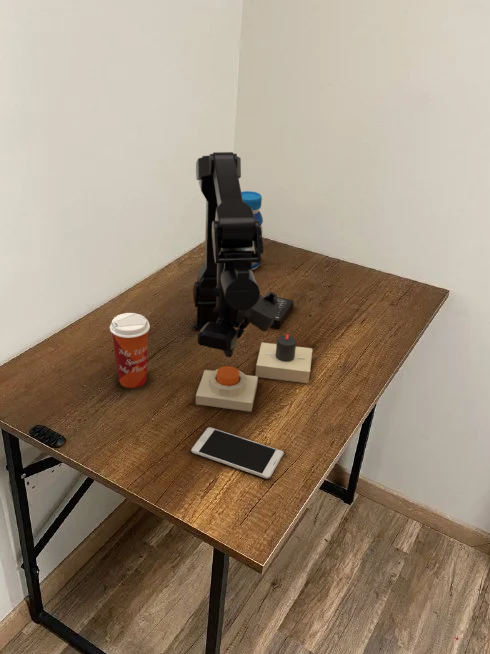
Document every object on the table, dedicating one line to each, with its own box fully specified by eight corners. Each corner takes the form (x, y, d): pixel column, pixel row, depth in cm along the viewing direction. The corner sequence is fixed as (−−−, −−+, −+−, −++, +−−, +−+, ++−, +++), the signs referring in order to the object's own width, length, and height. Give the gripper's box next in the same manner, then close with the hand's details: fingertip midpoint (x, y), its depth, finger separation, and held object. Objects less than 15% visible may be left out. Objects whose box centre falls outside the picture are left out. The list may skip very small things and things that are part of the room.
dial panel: (255, 377, 131) (256, 364, 129) (260, 353, 138) (261, 341, 136) (308, 383, 129) (310, 371, 127) (310, 360, 137) (312, 347, 135)
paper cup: (122, 395, 125) (117, 335, 117) (108, 375, 130) (103, 316, 123) (158, 385, 128) (156, 325, 120) (143, 365, 134) (140, 308, 126)
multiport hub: (293, 308, 155) (294, 300, 154) (278, 329, 147) (279, 320, 146) (276, 304, 157) (277, 296, 155) (261, 324, 148) (261, 316, 147)
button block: (195, 404, 123) (195, 388, 121) (204, 378, 130) (204, 362, 128) (251, 412, 121) (252, 395, 119) (257, 385, 129) (258, 369, 126)
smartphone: (208, 426, 116) (284, 451, 111) (208, 428, 117) (284, 453, 111) (189, 450, 111) (269, 478, 105) (189, 453, 111) (269, 480, 106)
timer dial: (293, 362, 130) (295, 345, 128) (274, 360, 131) (276, 342, 128) (295, 352, 133) (297, 335, 131) (276, 350, 134) (278, 332, 131)
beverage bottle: (230, 258, 179) (233, 188, 167) (260, 259, 178) (265, 190, 167) (228, 271, 172) (231, 199, 161) (259, 272, 171) (264, 201, 160)
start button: (214, 384, 122) (215, 377, 121) (218, 372, 126) (219, 364, 125) (237, 387, 122) (237, 380, 121) (240, 374, 125) (241, 367, 124)
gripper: (260, 315, 102) (254, 392, 111) (290, 269, 116) (282, 341, 125) (197, 302, 105) (196, 378, 114) (233, 259, 120) (230, 329, 129)
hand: (229, 356), depth 120 cm, fingers closed
